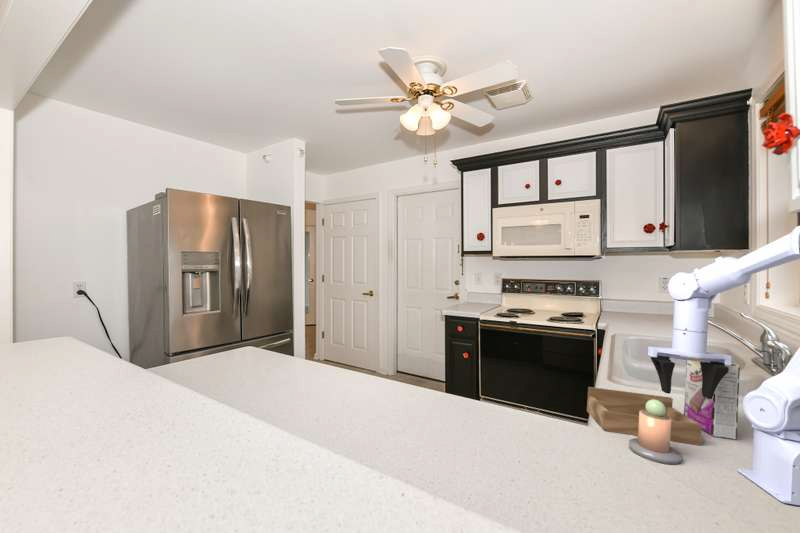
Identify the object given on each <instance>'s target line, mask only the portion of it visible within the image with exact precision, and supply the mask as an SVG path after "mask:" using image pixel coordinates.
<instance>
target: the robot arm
mask: <svg viewBox="0 0 800 533" xmlns="http://www.w3.org/2000/svg"><path fill="white" fill-rule="evenodd" d="M799 259H800V225H798V226H796V227H795V228H793V230H791V232H789V233H788V234H786V235H784V236H782V237H780V238H778V239H776V240H774V241H772V242H770V243H768V244H766V245H764V246H761V247H760V248H757V249H755V250H754V251H752V252H749V253H747V254H745V255H743V256H741V257H739V258H737V257H733V256H718V257H717V258H716V257H715V258H714V260H715V262H712V263H709V264H707V265H706V266H703V267H696V268H694V269H693V271H692V272H690V273H688V272H677V273H676V274H675V275H673V276H672V277H671V278H670V279H669V281H668V285H667V289H668V293H669V294H670V297H672V298H673V299H674V301H673V302H674V303H673V320H672V336H671V338H672V340H671V341H672V342H671V347H661V346H660V347H659V346H648V347H647V348H648V349H647V355H648V356H650V360H651V362H652V364H653V365H654V366H653V367H654V368H655V370H656V372H657V373H656V374H657V375H658V379H659V383H660V389H661V392H662V393H663V392H664V394H670V395H671V391H672V377H673V374H674V373H673V372H674V369H675V366H676V363H675V362H674V361H672V360H682V361H686V360H690V361H699V362H700V365H701V370H702V396H704V397H706V398H708V399H712V398H713V395H714V392H715V390H716V388H717V386H718V384H719V382H720V381H721V379H722V378H723V377H724V376H725V375H726V374H727V373H728V371H729V367H727V366H725V365H730V366H731V363H732V358H733V357H732V355H730V354H729V355H728V354H725V353H724V354H723V353H715V352H707V350H708V349H707V347H708V331H709V330H708V329H709V328H708V326H709V313H710V312H709V310H710V308H711V309H712V302H713V301H714V299H716V297H717V295H718V294H721V293H723V292H726V291H729V290H731V289H732V290H733V289H735V288H738V287H741V286H743V285H746V284H747V283H749V282H750V281H751V277H752V275H754V274H757V273H759V272H763V271H766V270H770V269H772V268H776V267H778V266H781V265H784V264H788V263H790V262H794V261H797V260H799ZM687 357H694V358H687ZM696 358H700V359H696ZM742 408H743V412H744V415H745V417H746V418H747V419H748V421H750V423H751V427H752V428H753V438H752V439H753V441H752V443H753V444H752V458H751V459H752V460H751V461H752V462H751V463H752V464H751V469H746V468H739V467H738V468H737V471H738V473H740V474H741V475H743V476H744V477H746V478H747V479H749V480H750V481H752V483H754V484H755V485H757V486H758V487H759V488H761V489H763V490H764V491H765V492H767V493H768V494H770V495H771V496H772V497H774V498H775V499H777V500H778V501H779V502H781V503H784V504H789V505H795V506H800V346H799V347H798V349H797V350H796V351H795V353H794V355H793V356H792V357H791V359H790V360H789V362H788V363H787V365H786V366H785V367H784V369H783V371H782V372H780V373H778V374H776V375H774V376H772V377H769V378H768V379H765V380H764V381H763V382H762V383H761V384H760V386H759V387H758V388H756V389H754V390H752V391H749V392H748V393H747V394H746V395H745V396H744V398H743V400H742Z"/></svg>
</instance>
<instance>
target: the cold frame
mask: <svg viewBox="0 0 800 533" xmlns="http://www.w3.org/2000/svg"><path fill="white" fill-rule="evenodd" d="M652 399H655V400H659V401H660V402H662V403H663V404H664V406H665V408H666V413H665V415H667V416H669V417H670V418H671V419H672V420H671V436H670V442H675V443H681V444H689V445H693V446H694V445H695V446H700V447H701V446H702V445H701V444H702V431H703V430H702V426H701V425H700V424H698V423H696V422H695V421H693V420H692V419H690V418H688V417H687V416H685V415H684V413H682V412H681V411H678V410H677V409H675V408H674V407H673V402H674V399H673V398H672V397H670V396H661V395H656V394H655V395H654V394H647V393H640V392H639V393H637V392H632V391H623V390H617V389H608V388H602V387H601V388H600V387H593V386H588V387H587V401H586V403H587V404H586V412H587V414H589V415H590V417H592V418H591V419H593V420H594V421H595V422H596V423H597V425H598V426H599V427H600V428H601V429H602V431H604V432H609V433H616V434H623V435H628V436H636V437H638V425H639V411H640V410H646V408H645V405H646V403H647V401H649V400H652Z"/></svg>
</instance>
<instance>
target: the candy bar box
mask: <svg viewBox="0 0 800 533" xmlns="http://www.w3.org/2000/svg"><path fill="white" fill-rule="evenodd" d="M686 357H687V356H686ZM687 358H694V357H687ZM696 359H700V358H696ZM685 361H686V363H685V364H686V365H685V367H686V368H685V386H684V387H685V388H684V408H683V414H684V415H685V416H687V417H688V418H690V419H692V420H693V421H695V422H696V423H698V424H700V425H701V426H702V430H701V431H704V432H705V433H707V434H708V435H710V436H712V437H713V438H718V437H721V439H726V438H730V439H729V440H734V439H737V436H738V418H739V417H738V416H739V414H738V413H739V397H740V396H739V394H740V393H739V392H740V369H741V365H740V364H738V363H735V362H731V366H730V365H725V366H727V367H729V371H728V373H727V374H726V375H725V376H724V377H723V378H722V379H721V381H720V382H719V384H718V386H717V388H716V390H715V392H714V395H713V398H712V399H708V398H706V397H704V396H702V370H701V365H700V362H699V361H690V360H685Z"/></svg>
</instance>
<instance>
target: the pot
mask: <svg viewBox="0 0 800 533" xmlns="http://www.w3.org/2000/svg"><path fill="white" fill-rule="evenodd" d="M645 408H646V410H640V411H639V425H638V436H637V438H638V440H637V443H638V444H639V445H640V446H641V447H643V448H645V449H647V450H650V451H653V452H657V453H669V452H670V447H671V441H670V436H671V420H672V419H671V418H670V417H669V416H667V415H665V413H666V408H665V406H664V404H663V403H662V402H660V401H659V400H655V399H652V400H649V401H647V403H646V405H645Z"/></svg>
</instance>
